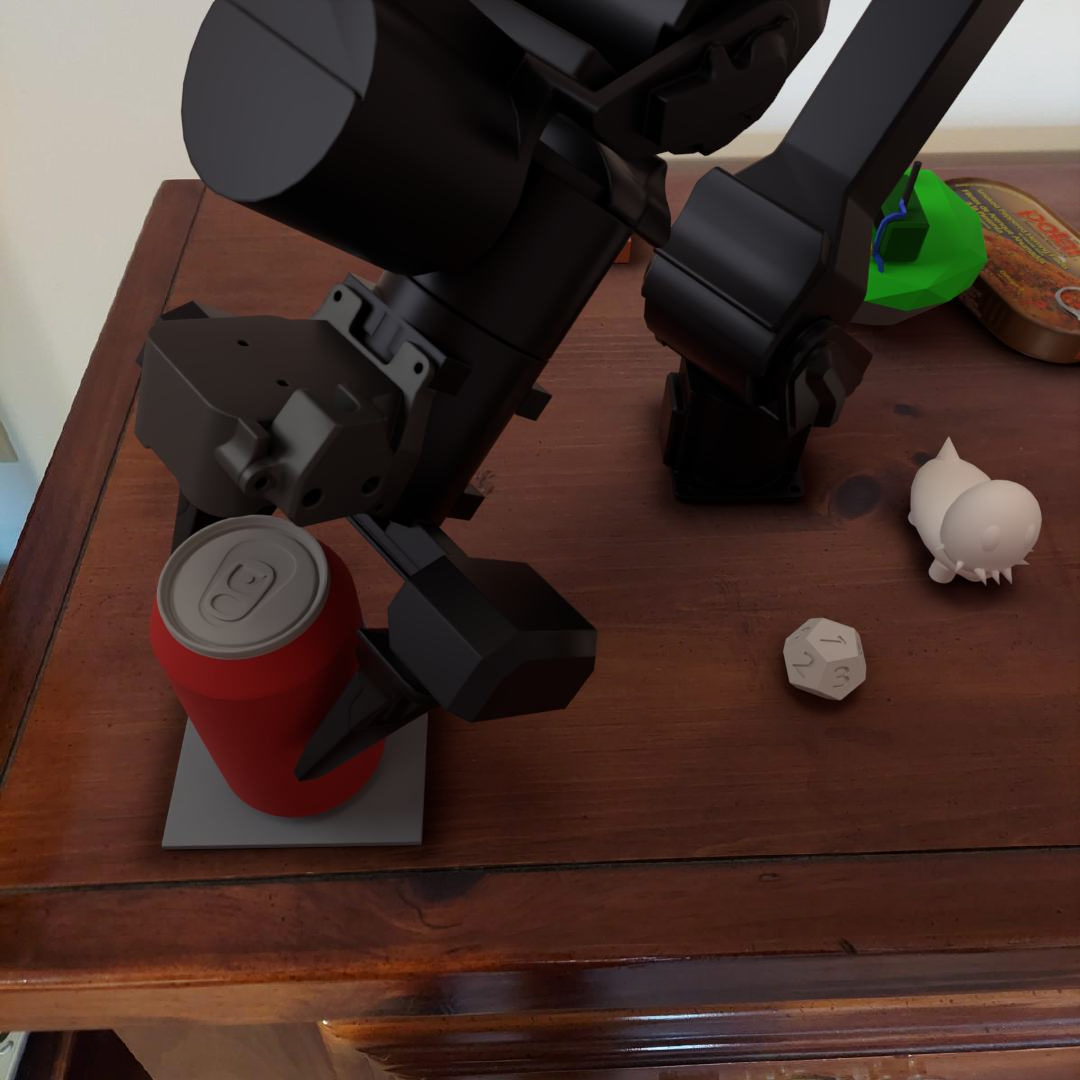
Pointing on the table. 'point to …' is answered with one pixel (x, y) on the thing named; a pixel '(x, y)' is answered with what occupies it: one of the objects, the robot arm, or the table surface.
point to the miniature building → (920, 250)
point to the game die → (825, 658)
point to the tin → (1024, 271)
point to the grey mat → (363, 820)
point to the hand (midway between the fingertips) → (237, 687)
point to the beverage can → (262, 655)
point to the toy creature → (972, 519)
